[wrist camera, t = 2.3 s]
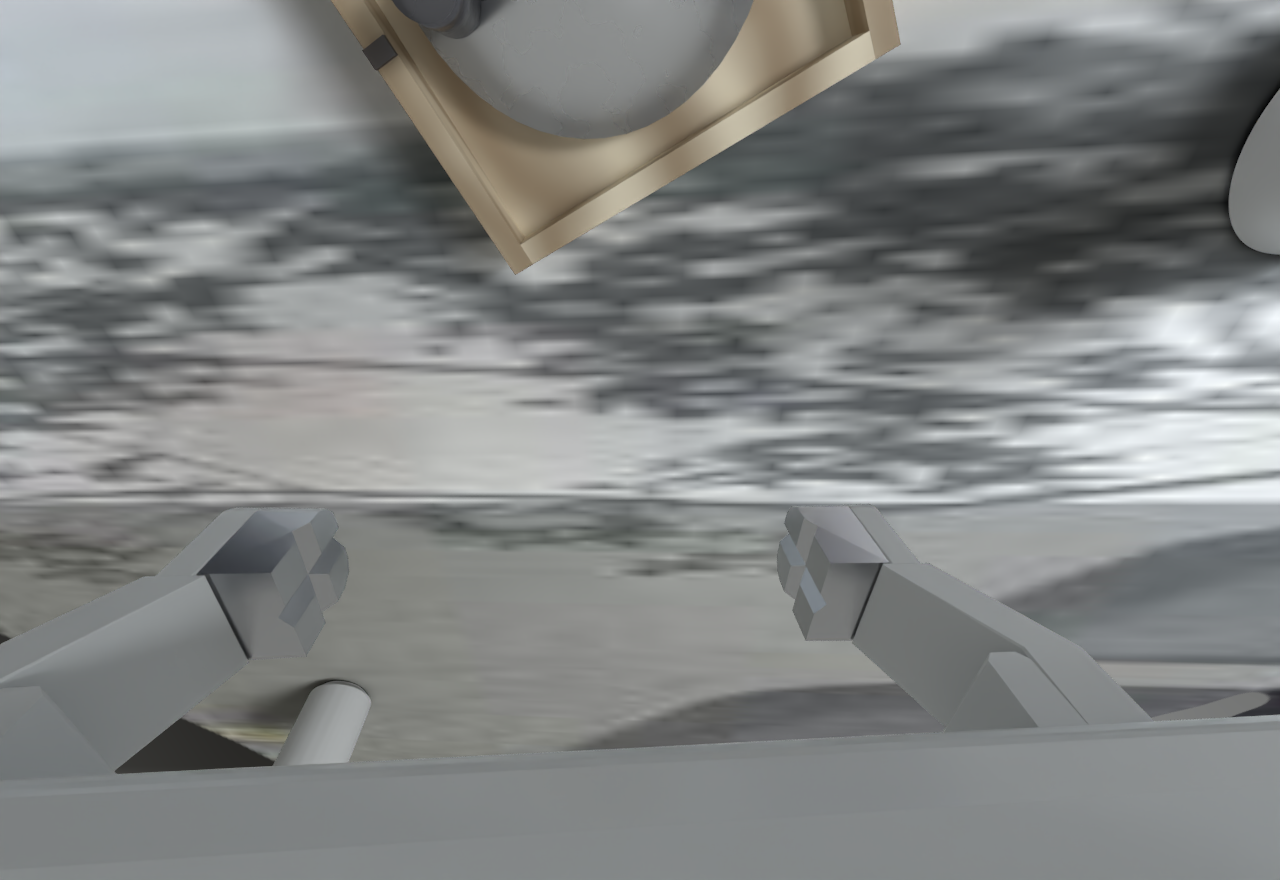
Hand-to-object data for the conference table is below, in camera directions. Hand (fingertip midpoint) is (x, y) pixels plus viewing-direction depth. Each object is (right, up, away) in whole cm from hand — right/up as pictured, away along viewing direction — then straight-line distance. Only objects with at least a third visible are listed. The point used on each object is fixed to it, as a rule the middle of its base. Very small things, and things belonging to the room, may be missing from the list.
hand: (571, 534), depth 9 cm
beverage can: (-32, -27, +47) cm, 63 cm away
